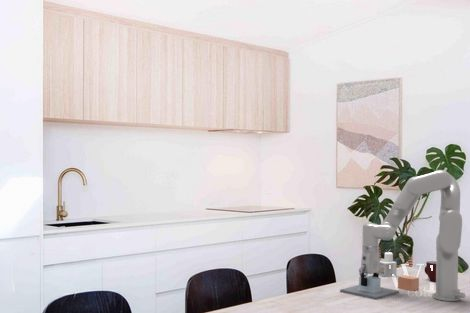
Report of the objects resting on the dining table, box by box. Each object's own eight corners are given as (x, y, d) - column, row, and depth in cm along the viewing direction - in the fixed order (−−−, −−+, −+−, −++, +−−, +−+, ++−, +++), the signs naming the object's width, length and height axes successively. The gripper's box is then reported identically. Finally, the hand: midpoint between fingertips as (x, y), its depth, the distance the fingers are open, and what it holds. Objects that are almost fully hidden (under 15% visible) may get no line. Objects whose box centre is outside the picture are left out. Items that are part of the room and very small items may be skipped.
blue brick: (380, 290, 283) (380, 277, 283) (373, 292, 279) (373, 279, 279) (366, 287, 289) (366, 275, 289) (359, 289, 285) (359, 276, 285)
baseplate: (399, 293, 284) (399, 290, 284) (376, 299, 270) (376, 296, 270) (363, 286, 298) (363, 283, 298) (340, 292, 284) (340, 289, 284)
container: (376, 274, 329) (376, 251, 329) (387, 273, 333) (387, 250, 333) (385, 277, 322) (385, 253, 322) (396, 276, 326) (397, 252, 326)
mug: (419, 279, 316) (419, 261, 316) (428, 278, 321) (429, 259, 321) (435, 283, 308) (435, 264, 308) (445, 281, 312) (445, 263, 312)
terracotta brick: (418, 289, 292) (418, 277, 292) (412, 291, 288) (412, 279, 288) (404, 287, 298) (404, 275, 298) (397, 288, 294) (398, 276, 294)
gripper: (366, 251, 275) (366, 288, 275) (386, 248, 287) (386, 283, 287) (353, 249, 281) (352, 285, 281) (373, 246, 293) (373, 280, 293)
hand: (369, 284), depth 284 cm, fingers open, 9 cm apart
